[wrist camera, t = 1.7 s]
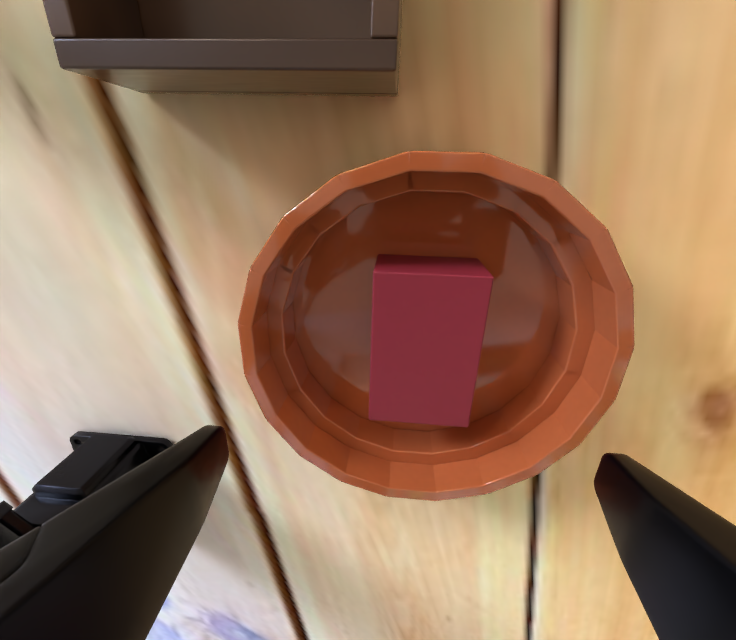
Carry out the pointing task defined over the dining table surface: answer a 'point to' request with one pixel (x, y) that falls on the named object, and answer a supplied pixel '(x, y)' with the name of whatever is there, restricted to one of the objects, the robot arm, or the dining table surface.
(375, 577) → the dining table surface
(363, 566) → the dining table surface
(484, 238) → the bowl
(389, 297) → the dark red block
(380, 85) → the holder
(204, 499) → the robot arm
